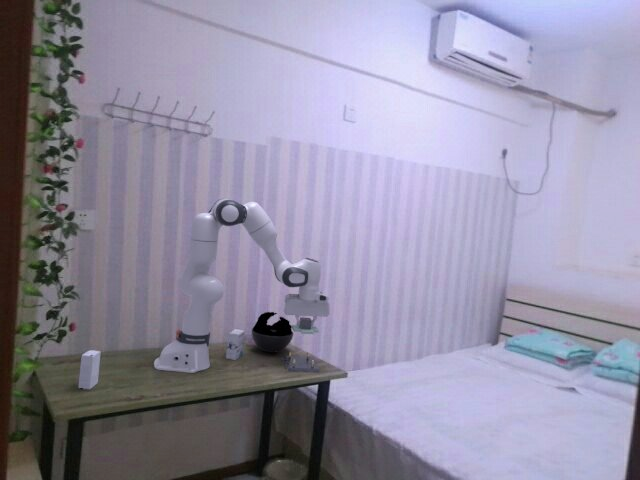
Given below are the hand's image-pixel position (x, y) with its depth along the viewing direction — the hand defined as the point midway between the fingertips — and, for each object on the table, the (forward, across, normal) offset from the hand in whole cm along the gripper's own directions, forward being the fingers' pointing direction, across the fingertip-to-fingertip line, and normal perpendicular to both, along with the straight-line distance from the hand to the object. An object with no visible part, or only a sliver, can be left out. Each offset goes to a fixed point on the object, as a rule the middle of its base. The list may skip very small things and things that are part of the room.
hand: (305, 325), depth 218 cm
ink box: (+19, -29, +9) cm, 36 cm away
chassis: (+18, 0, 0) cm, 19 cm away
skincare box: (+18, -82, -29) cm, 89 cm away
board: (+2, 0, 0) cm, 2 cm away
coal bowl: (+19, -11, +19) cm, 29 cm away
